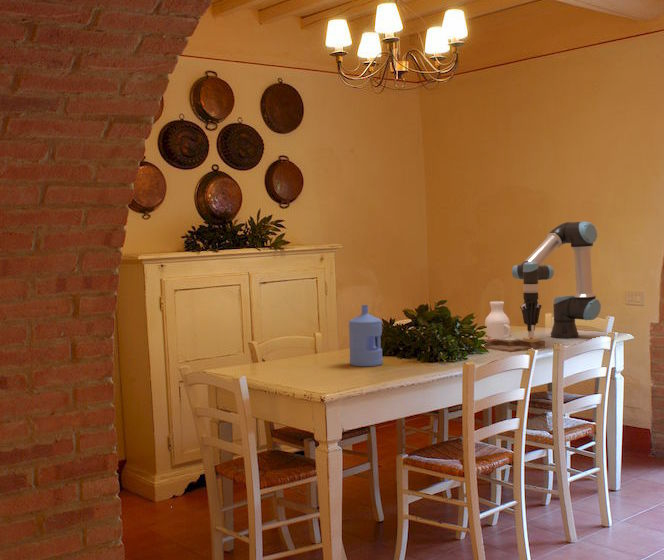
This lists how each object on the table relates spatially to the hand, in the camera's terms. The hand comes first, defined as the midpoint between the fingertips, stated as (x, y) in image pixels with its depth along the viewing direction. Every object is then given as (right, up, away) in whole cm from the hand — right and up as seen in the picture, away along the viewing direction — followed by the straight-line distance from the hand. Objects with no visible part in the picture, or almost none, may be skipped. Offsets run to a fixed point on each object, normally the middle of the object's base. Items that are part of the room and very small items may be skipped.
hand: (531, 337), depth 441 cm
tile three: (0, -3, 0) cm, 3 cm away
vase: (-8, -3, +50) cm, 51 cm away
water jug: (-87, -10, -40) cm, 96 cm away
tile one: (-10, -4, +4) cm, 12 cm away
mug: (-9, -4, +32) cm, 34 cm away
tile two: (-20, -4, +8) cm, 22 cm away
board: (-10, -5, +4) cm, 12 cm away
